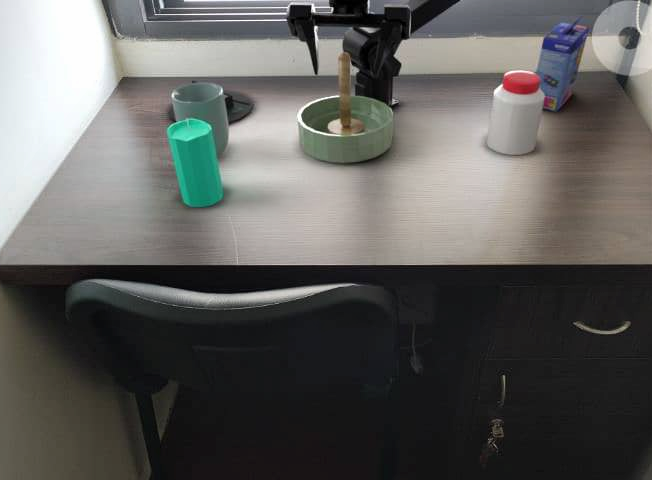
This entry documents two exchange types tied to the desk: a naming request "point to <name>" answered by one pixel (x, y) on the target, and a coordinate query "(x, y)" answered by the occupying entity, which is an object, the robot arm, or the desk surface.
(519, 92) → the pill bottle
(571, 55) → the ink cartridge box
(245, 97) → the black round base plate
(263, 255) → the desk surface
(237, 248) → the desk surface
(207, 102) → the cup
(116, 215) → the desk surface
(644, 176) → the desk surface
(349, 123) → the wooden mushroom pestle
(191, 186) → the candle
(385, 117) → the bowl
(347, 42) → the robot arm
